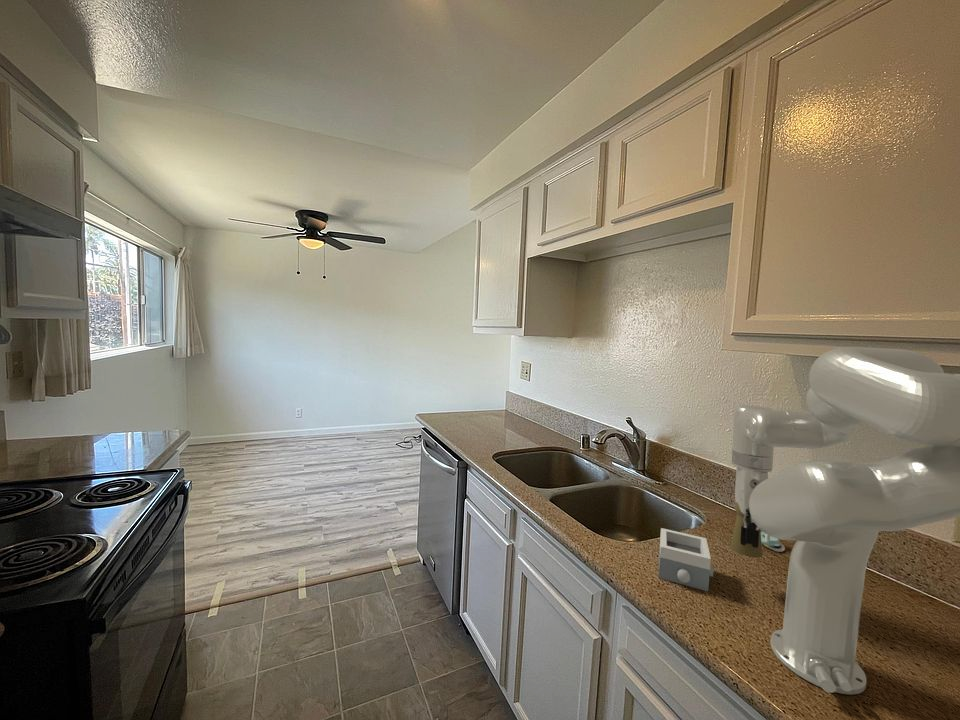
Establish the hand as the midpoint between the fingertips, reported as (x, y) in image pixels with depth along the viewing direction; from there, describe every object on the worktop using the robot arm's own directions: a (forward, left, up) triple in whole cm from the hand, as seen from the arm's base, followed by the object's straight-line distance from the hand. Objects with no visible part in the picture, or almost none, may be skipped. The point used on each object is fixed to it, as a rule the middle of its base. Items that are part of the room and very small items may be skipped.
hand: (746, 540), depth 87 cm
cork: (0, 0, -2) cm, 2 cm away
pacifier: (+26, -11, -11) cm, 30 cm away
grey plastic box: (-1, +12, -11) cm, 17 cm away
